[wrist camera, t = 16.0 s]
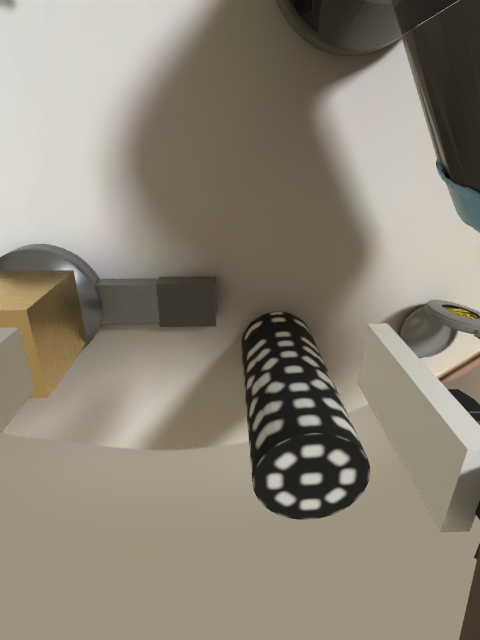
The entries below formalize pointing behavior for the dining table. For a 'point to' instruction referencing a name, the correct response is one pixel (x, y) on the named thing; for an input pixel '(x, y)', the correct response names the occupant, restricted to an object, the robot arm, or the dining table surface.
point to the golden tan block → (44, 321)
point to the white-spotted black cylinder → (297, 423)
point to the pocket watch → (438, 326)
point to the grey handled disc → (123, 292)
